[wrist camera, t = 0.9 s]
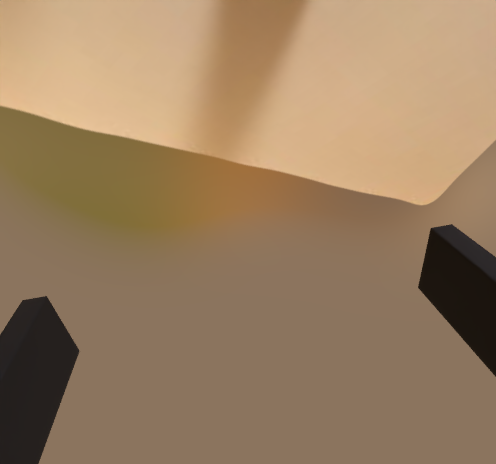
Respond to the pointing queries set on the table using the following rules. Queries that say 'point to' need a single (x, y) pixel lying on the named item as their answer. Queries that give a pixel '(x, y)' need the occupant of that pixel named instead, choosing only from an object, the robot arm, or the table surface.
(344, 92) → the table surface
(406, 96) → the table surface
